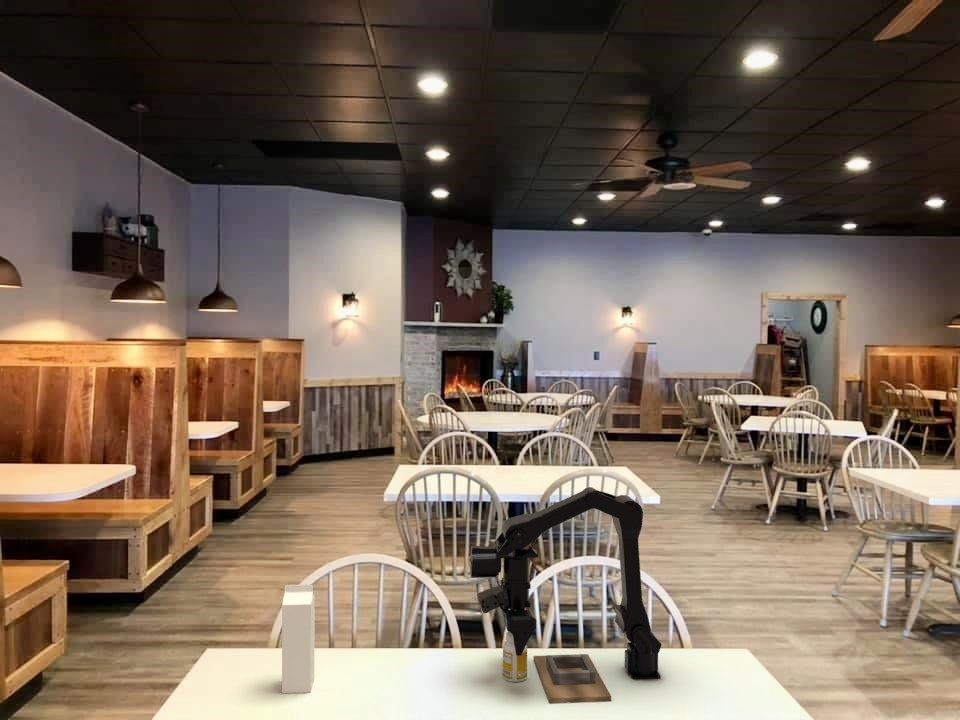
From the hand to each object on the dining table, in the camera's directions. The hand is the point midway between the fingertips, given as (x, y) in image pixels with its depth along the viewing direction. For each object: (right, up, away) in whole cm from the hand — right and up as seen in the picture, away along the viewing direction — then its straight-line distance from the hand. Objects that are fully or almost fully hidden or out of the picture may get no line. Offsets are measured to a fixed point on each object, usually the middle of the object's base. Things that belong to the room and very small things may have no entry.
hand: (515, 646), depth 157 cm
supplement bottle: (0, -7, 0) cm, 7 cm away
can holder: (+12, -7, -1) cm, 14 cm away
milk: (-47, -7, -5) cm, 48 cm away
